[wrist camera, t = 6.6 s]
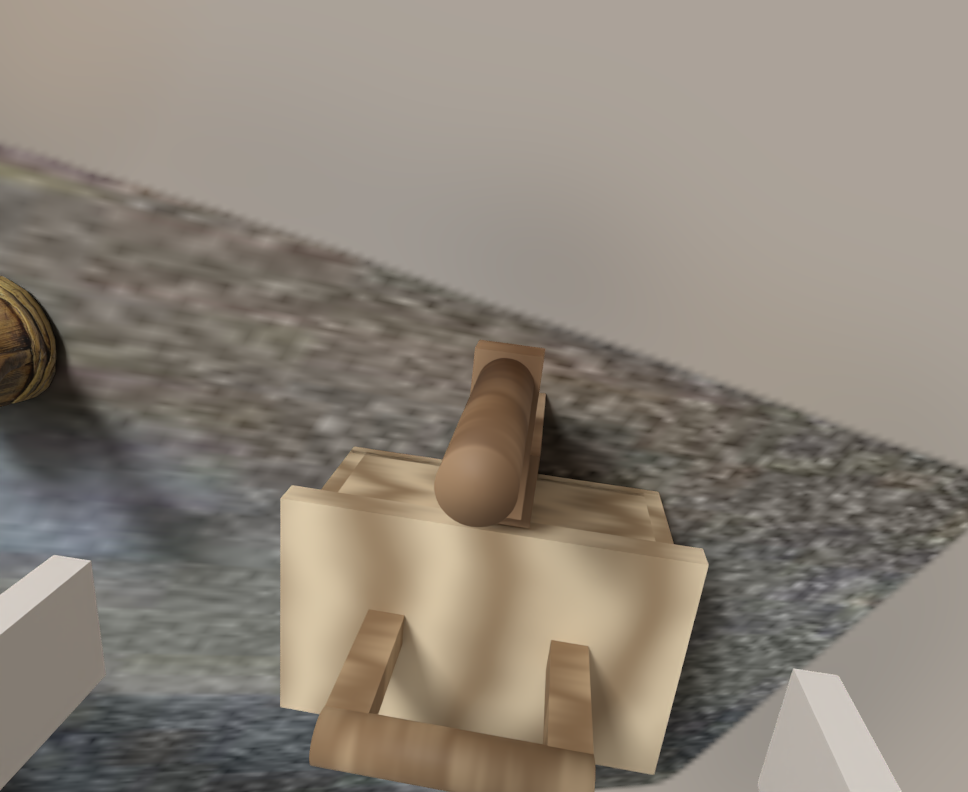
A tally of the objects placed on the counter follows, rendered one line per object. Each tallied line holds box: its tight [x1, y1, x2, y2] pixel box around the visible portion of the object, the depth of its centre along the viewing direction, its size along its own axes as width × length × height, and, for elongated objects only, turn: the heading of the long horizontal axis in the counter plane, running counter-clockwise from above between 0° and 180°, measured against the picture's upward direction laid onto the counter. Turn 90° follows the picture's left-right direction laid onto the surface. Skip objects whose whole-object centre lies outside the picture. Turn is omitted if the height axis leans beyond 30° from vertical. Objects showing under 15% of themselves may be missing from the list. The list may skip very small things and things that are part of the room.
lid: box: [280, 485, 709, 792], centre depth 32 cm, size 22×14×11 cm, turn 84°
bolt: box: [434, 340, 545, 527], centre depth 25 cm, size 3×8×12 cm, turn 174°
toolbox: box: [321, 393, 674, 544], centre depth 39 cm, size 20×18×10 cm
